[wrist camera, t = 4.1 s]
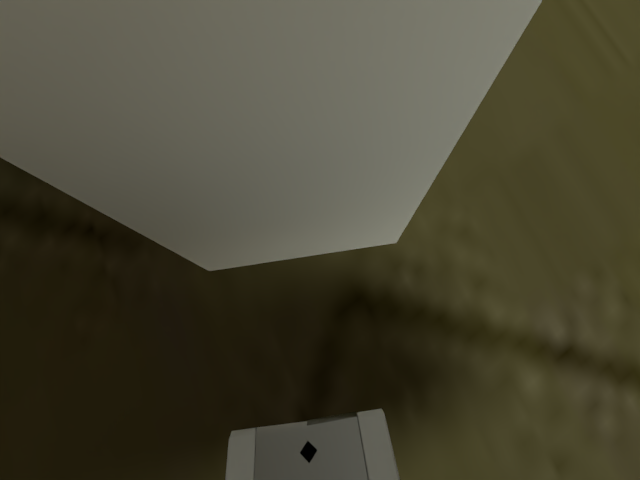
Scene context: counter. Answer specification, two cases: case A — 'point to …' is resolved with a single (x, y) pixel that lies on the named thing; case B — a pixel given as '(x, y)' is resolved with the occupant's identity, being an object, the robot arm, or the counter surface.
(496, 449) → the counter surface
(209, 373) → the counter surface
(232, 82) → the boxed book
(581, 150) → the counter surface
